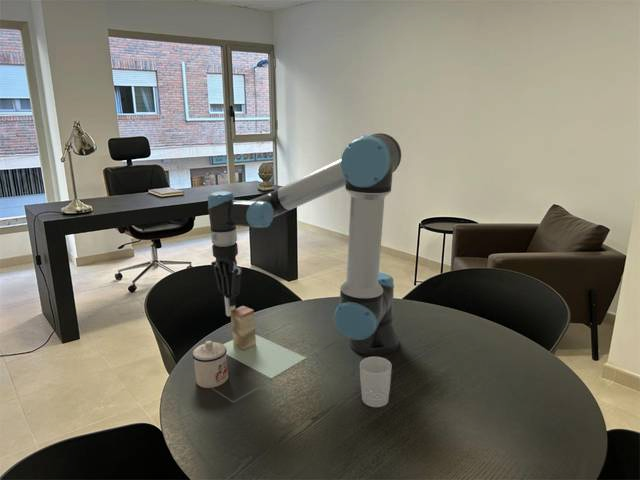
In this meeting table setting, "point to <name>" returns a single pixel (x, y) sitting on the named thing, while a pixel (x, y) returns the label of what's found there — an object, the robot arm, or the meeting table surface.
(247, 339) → the oak block
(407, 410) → the meeting table surface
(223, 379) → the teacup with lid
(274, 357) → the rubber mat
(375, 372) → the white cup
